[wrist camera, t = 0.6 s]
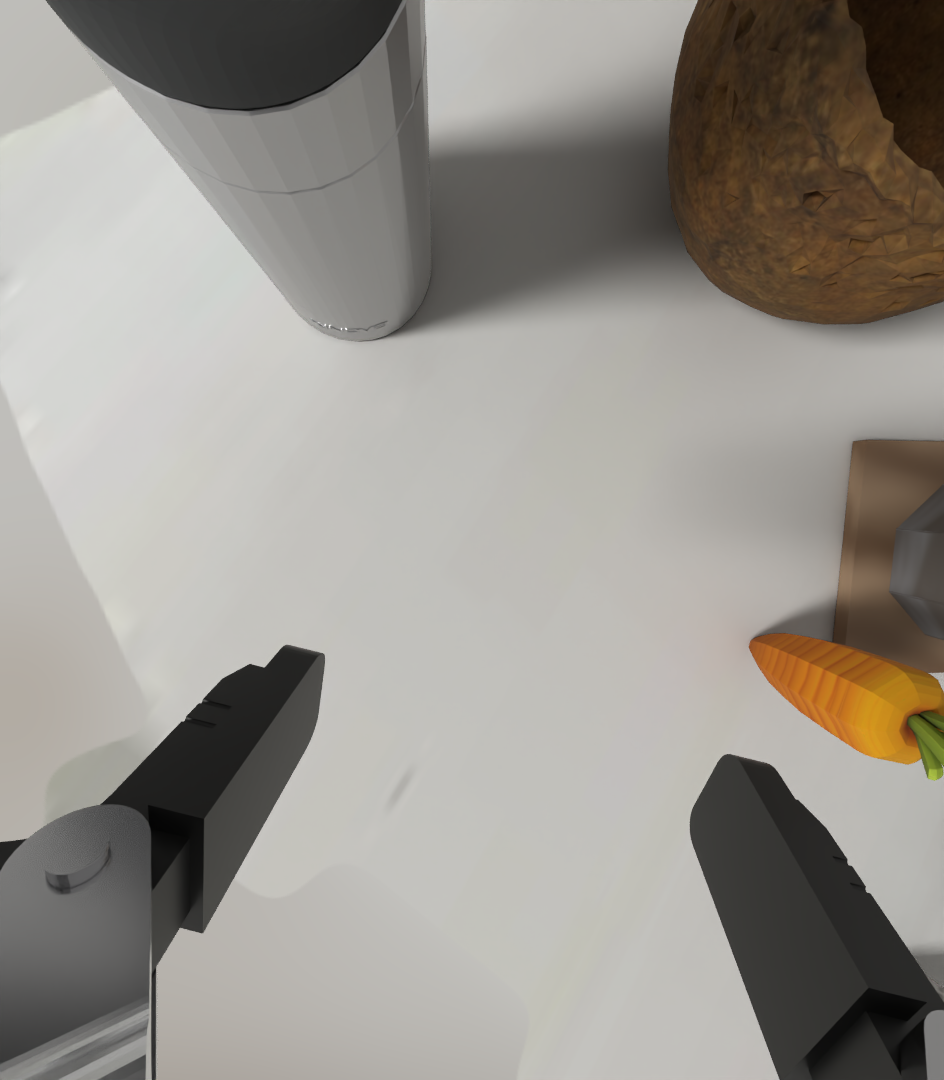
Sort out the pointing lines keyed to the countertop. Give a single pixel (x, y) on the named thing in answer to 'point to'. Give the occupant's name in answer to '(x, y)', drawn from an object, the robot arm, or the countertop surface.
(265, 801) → the robot arm
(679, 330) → the countertop surface
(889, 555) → the ring holder
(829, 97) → the bowl
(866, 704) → the carrot
